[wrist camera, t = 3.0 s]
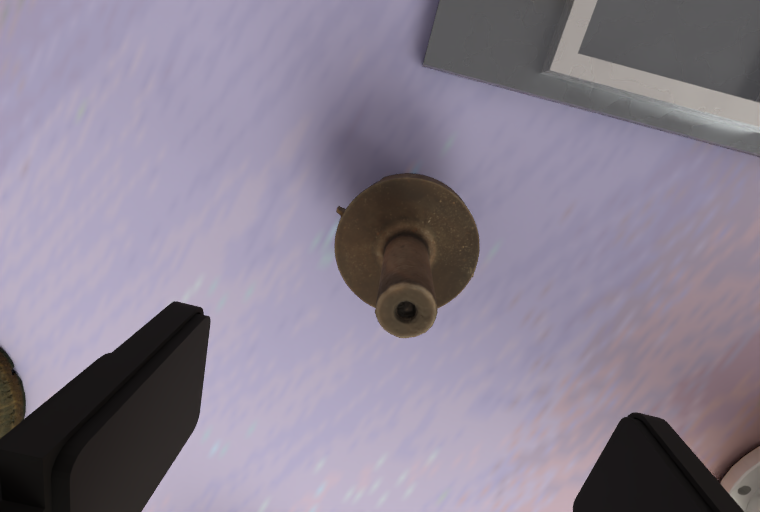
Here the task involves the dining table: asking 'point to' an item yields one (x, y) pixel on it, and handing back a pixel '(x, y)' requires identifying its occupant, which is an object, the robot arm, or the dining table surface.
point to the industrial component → (406, 250)
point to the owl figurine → (10, 396)
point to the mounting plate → (616, 59)
